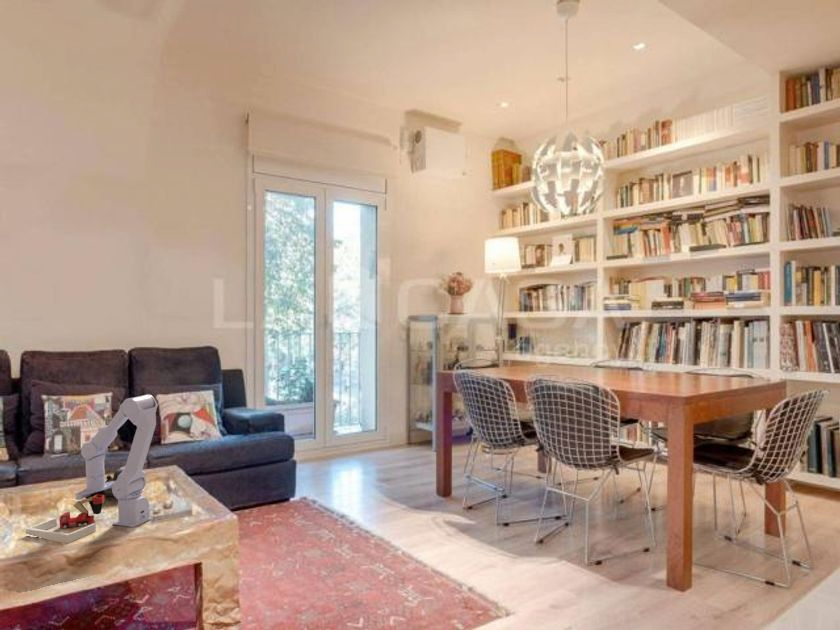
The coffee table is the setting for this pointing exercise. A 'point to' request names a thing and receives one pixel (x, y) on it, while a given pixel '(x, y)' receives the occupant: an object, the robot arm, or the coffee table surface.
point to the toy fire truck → (83, 516)
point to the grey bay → (42, 532)
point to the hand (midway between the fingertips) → (97, 513)
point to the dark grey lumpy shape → (109, 479)
